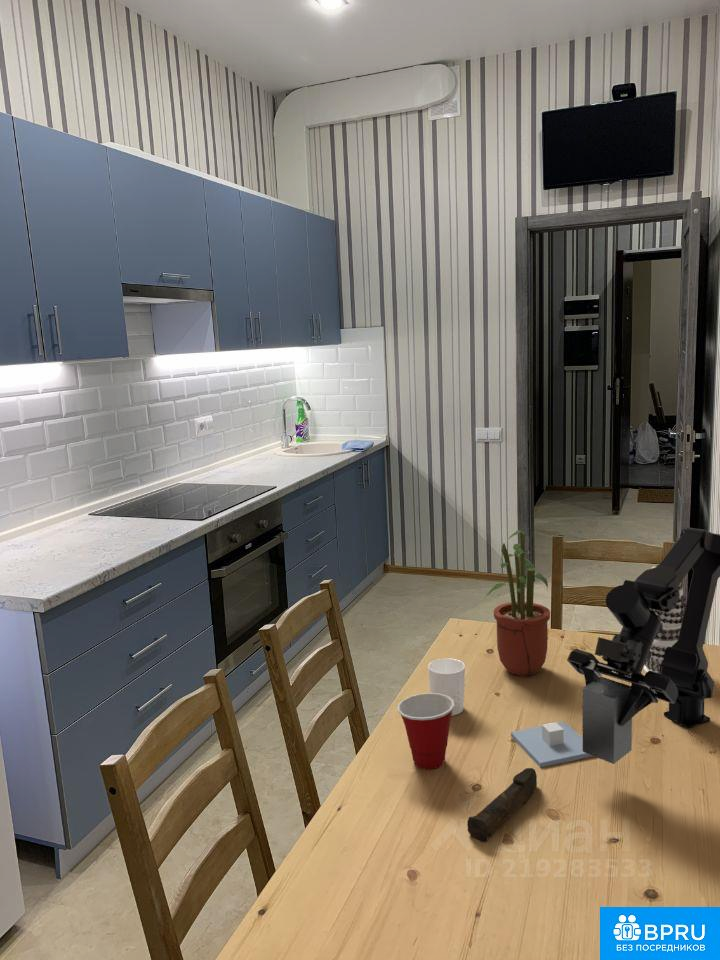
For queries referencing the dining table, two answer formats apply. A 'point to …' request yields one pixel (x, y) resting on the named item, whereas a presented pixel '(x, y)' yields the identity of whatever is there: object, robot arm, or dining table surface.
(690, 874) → the dining table surface
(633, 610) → the robot arm
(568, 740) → the base block
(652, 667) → the decorative candle
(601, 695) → the grey block
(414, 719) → the plastic cup
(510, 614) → the potted plant
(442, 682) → the white cup
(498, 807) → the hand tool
